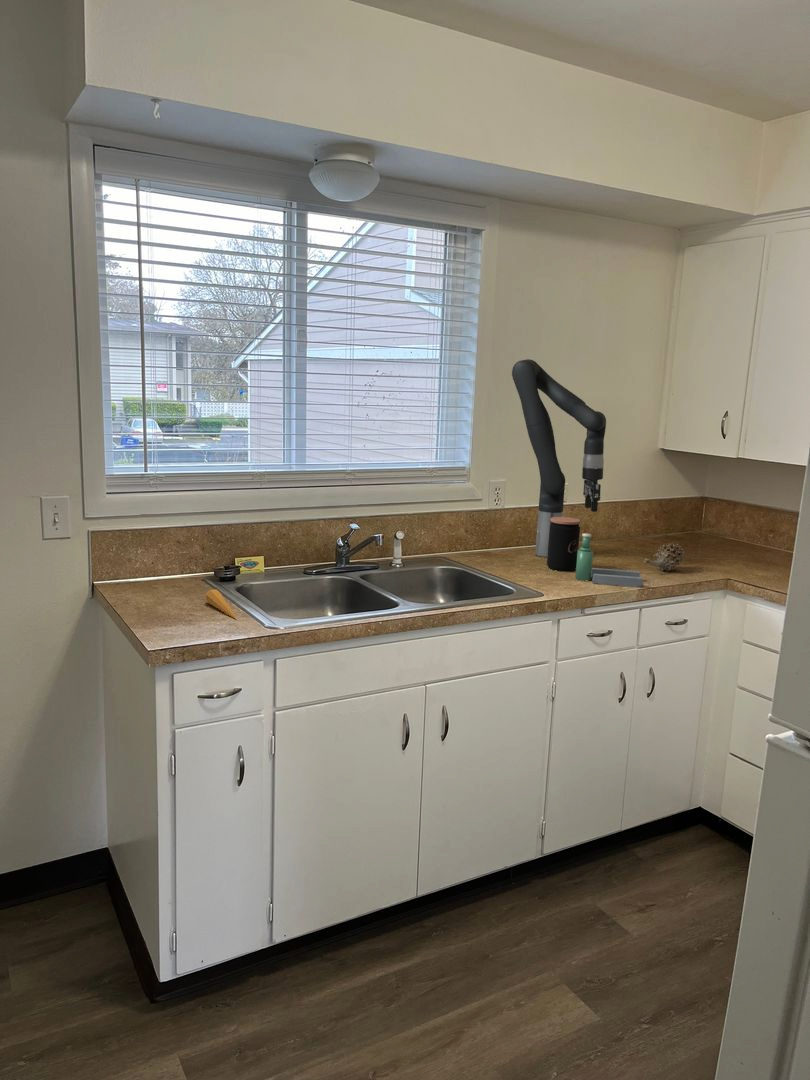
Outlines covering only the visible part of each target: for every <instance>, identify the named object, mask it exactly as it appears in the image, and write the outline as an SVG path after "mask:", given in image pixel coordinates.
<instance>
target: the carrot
mask: <svg viewBox="0 0 810 1080" xmlns="http://www.w3.org/2000/svg"><path fill="white" fill-rule="evenodd" d="M205 600H206V601H207V603H209V604H210V605H211V606H212V607H214V608H215V609H217V608H218V609H217V610H219V611H220V610H221V612H222V613H223V612H224V613H223V614H225V615H227V616H228V615H229V616H228V617H230V616H231V617H230V618H232V617H233V618H232V619H234V618H235V620H236V619H237V617H236V615H235V614H234V612H233V610H232V608H231V607H230V605H229V603H228V602H227V601H226V599H225V598H224V596H223V595H222V593H221V592H220V591H219V590H218V589H209V590H208V591H207V592H206V593H205Z"/></svg>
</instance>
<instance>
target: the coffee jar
mask: <svg viewBox="0 0 810 1080" xmlns="http://www.w3.org/2000/svg"><path fill="white" fill-rule="evenodd" d="M550 521H551V524H550V529H549V542H548V555H547V557H546V565H547V568H548V569H549V568H550V569H549V570H551V569H552V570H551V571H555V570H557V571H556V572H561V571H570V572H573V570H574V571H576V565H577V553H578V549H580V547H579V546H580V536H581V535H580V533H581V527H580V524H581V519H579V518H575V517H569V516H563V517H552V518H550Z"/></svg>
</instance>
